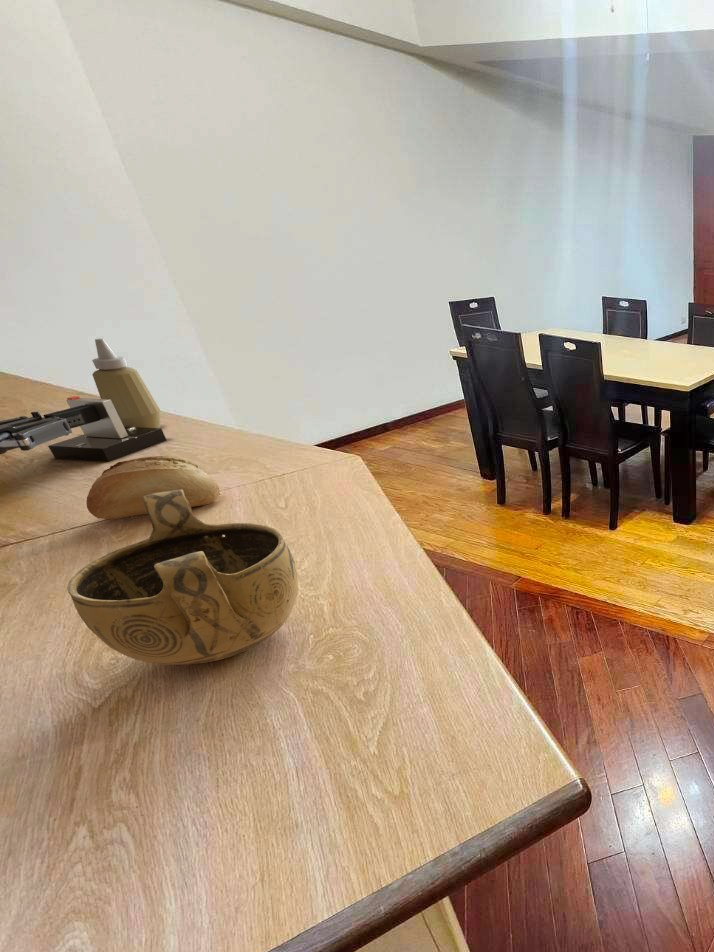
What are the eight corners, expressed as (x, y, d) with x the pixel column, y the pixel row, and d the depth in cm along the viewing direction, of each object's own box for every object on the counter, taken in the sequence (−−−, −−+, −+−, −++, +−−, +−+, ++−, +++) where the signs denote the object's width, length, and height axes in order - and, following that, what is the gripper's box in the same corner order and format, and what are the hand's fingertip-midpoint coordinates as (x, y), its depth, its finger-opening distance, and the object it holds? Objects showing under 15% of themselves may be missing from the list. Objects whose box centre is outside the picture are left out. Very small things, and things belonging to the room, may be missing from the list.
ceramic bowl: (340, 659, 63) (293, 536, 56) (124, 740, 53) (31, 602, 45) (294, 576, 77) (252, 468, 69) (116, 626, 66) (44, 506, 59)
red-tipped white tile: (128, 436, 111) (110, 398, 108) (120, 438, 110) (101, 400, 107) (93, 433, 112) (74, 395, 108) (85, 436, 110) (64, 398, 107)
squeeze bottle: (158, 421, 127) (118, 334, 118) (174, 428, 123) (134, 339, 114) (108, 430, 121) (62, 339, 112) (124, 438, 117) (78, 344, 108)
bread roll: (97, 511, 90) (69, 462, 86) (220, 488, 99) (200, 442, 95) (95, 534, 84) (65, 482, 80) (226, 507, 93) (206, 460, 89)
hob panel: (112, 461, 107) (105, 447, 106) (51, 458, 107) (43, 444, 106) (169, 440, 117) (164, 427, 116) (114, 437, 117) (108, 424, 116)
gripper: (-98, 477, 89) (66, 430, 110) (-12, 482, 89) (136, 434, 109) (-132, 429, 85) (44, 390, 106) (-43, 433, 85) (117, 393, 106)
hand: (91, 412), depth 108 cm, fingers closed, pressing on red-tipped white tile
